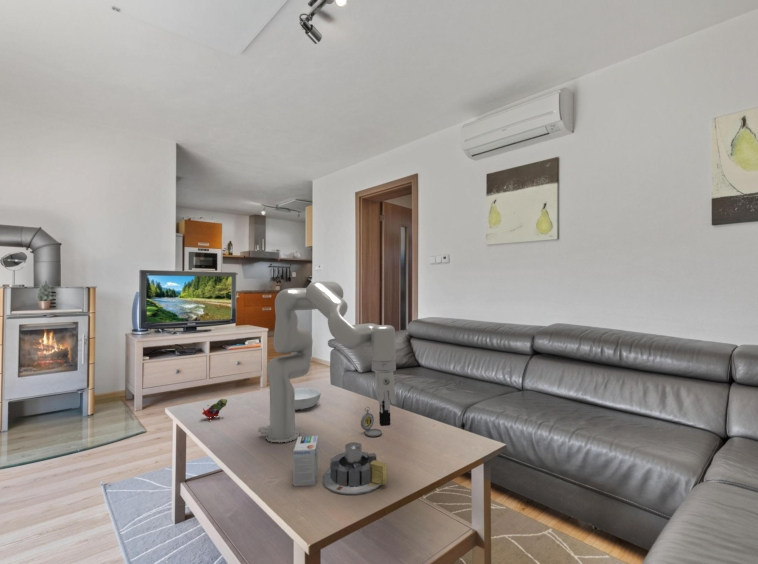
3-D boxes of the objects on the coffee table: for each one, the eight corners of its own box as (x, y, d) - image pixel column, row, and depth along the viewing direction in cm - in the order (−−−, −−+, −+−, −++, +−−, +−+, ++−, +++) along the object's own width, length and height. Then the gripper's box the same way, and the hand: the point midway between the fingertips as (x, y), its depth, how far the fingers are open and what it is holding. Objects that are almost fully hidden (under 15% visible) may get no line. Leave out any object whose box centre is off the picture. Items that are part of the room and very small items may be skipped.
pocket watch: (380, 438, 149) (379, 412, 149) (359, 436, 151) (358, 410, 151) (384, 430, 157) (383, 405, 157) (364, 429, 159) (363, 404, 159)
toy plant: (219, 429, 172) (230, 412, 168) (196, 423, 168) (207, 405, 164) (221, 415, 179) (233, 398, 175) (200, 409, 175) (211, 391, 171)
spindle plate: (320, 497, 107) (320, 461, 107) (324, 465, 126) (323, 435, 126) (388, 493, 109) (387, 457, 109) (381, 462, 128) (381, 432, 128)
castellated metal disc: (329, 487, 110) (329, 469, 110) (331, 464, 124) (331, 448, 124) (387, 484, 111) (387, 466, 111) (382, 462, 126) (382, 446, 126)
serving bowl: (286, 400, 200) (286, 387, 200) (325, 401, 198) (325, 388, 198) (270, 413, 180) (270, 398, 180) (313, 414, 177) (313, 399, 177)
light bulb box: (297, 469, 124) (297, 436, 124) (318, 468, 124) (318, 435, 125) (292, 486, 113) (292, 449, 113) (315, 485, 114) (315, 448, 114)
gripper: (399, 369, 112) (401, 432, 112) (391, 360, 127) (393, 416, 127) (374, 370, 111) (375, 434, 111) (369, 361, 126) (370, 417, 126)
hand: (385, 424), depth 119 cm, fingers closed
